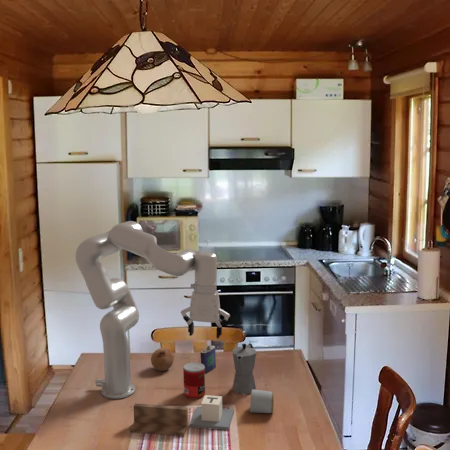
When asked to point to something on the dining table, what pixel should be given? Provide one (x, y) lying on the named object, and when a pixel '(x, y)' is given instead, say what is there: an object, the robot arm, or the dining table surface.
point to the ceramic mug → (261, 401)
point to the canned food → (194, 380)
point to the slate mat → (222, 424)
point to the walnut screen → (160, 419)
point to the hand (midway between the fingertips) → (204, 335)
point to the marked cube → (211, 408)
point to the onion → (162, 359)
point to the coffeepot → (244, 369)
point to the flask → (208, 358)
